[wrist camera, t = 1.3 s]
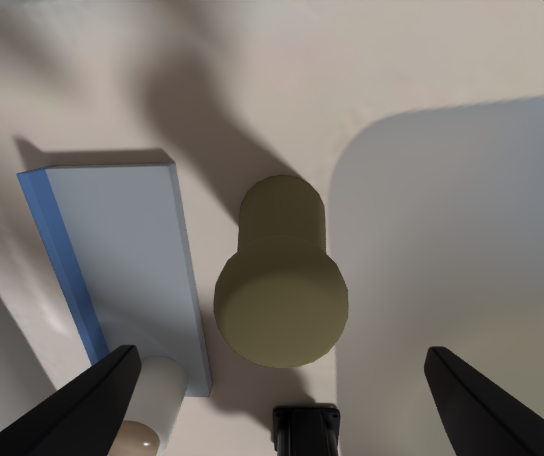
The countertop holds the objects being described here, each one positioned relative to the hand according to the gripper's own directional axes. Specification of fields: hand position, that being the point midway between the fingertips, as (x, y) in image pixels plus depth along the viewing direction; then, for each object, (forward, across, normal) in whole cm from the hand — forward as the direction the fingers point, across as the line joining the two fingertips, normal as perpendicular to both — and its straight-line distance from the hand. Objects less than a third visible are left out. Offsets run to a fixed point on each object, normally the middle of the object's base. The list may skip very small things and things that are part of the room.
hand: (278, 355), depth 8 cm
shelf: (+12, +11, +6) cm, 17 cm away
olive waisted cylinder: (+12, 0, 0) cm, 12 cm away
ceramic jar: (+11, +11, +14) cm, 21 cm away
